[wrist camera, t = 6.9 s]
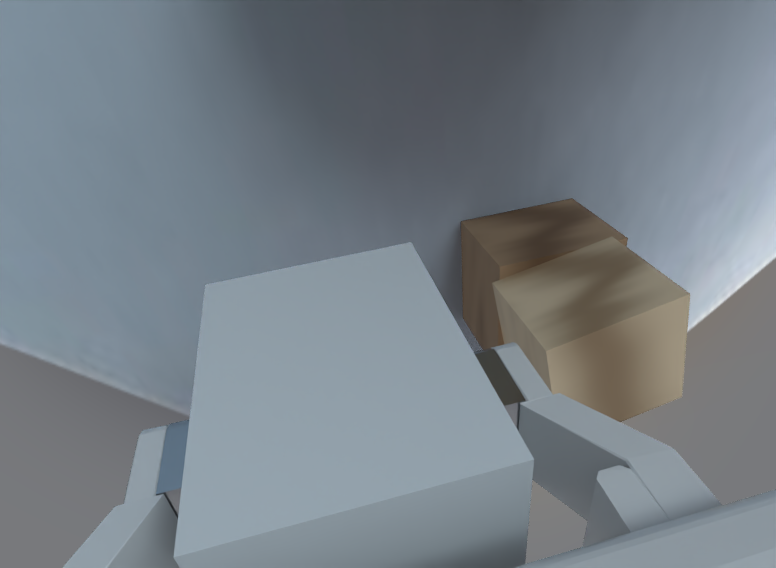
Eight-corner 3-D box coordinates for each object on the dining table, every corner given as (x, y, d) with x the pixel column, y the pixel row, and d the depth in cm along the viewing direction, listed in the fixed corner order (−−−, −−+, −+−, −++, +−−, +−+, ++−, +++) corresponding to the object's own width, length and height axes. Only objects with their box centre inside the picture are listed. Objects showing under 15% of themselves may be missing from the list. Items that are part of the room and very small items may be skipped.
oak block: (612, 236, 24) (690, 293, 20) (614, 331, 27) (682, 397, 23) (491, 282, 24) (546, 351, 20) (509, 372, 27) (559, 446, 23)
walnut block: (570, 197, 28) (627, 238, 24) (560, 293, 32) (609, 343, 28) (460, 220, 27) (499, 266, 23) (462, 316, 31) (497, 372, 27)
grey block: (410, 241, 12) (533, 458, 7) (423, 386, 14) (519, 621, 9) (205, 284, 11) (173, 556, 6) (256, 427, 13) (264, 702, 9)
